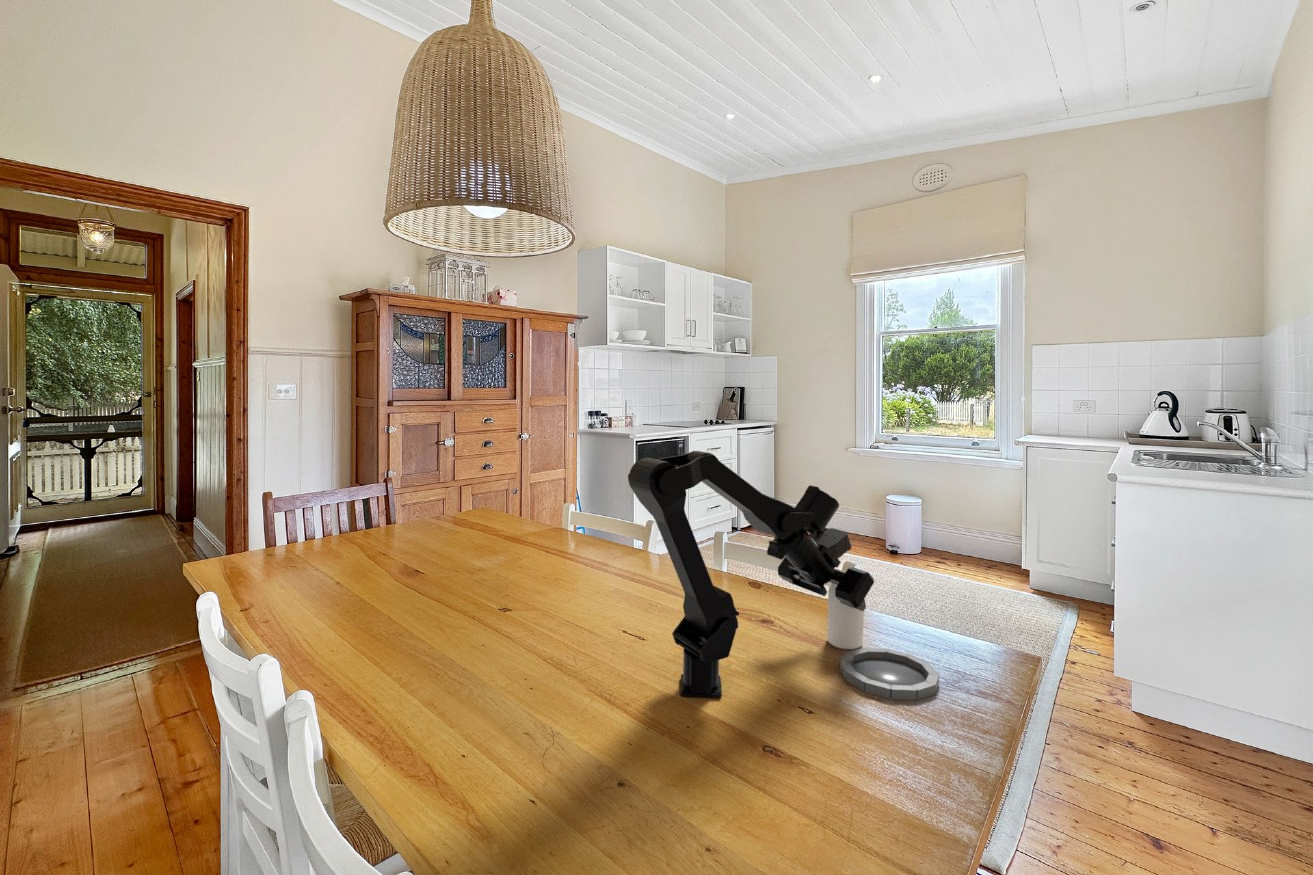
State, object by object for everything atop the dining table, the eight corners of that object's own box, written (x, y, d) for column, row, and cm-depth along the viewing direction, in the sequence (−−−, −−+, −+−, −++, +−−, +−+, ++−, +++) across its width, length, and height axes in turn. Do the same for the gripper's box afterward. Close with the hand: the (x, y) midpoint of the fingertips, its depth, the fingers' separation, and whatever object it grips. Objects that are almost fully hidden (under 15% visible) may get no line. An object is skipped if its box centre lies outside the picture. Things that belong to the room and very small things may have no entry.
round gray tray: (953, 701, 93) (953, 691, 93) (854, 697, 94) (855, 688, 94) (917, 657, 108) (917, 649, 108) (832, 655, 109) (832, 646, 108)
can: (835, 633, 118) (837, 574, 117) (867, 642, 114) (870, 580, 113) (821, 644, 113) (823, 582, 112) (854, 653, 109) (857, 589, 108)
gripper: (868, 527, 101) (907, 580, 107) (789, 508, 117) (828, 555, 123) (834, 581, 97) (877, 632, 104) (758, 553, 113) (799, 599, 120)
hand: (844, 601), depth 113 cm, fingers open, 9 cm apart
